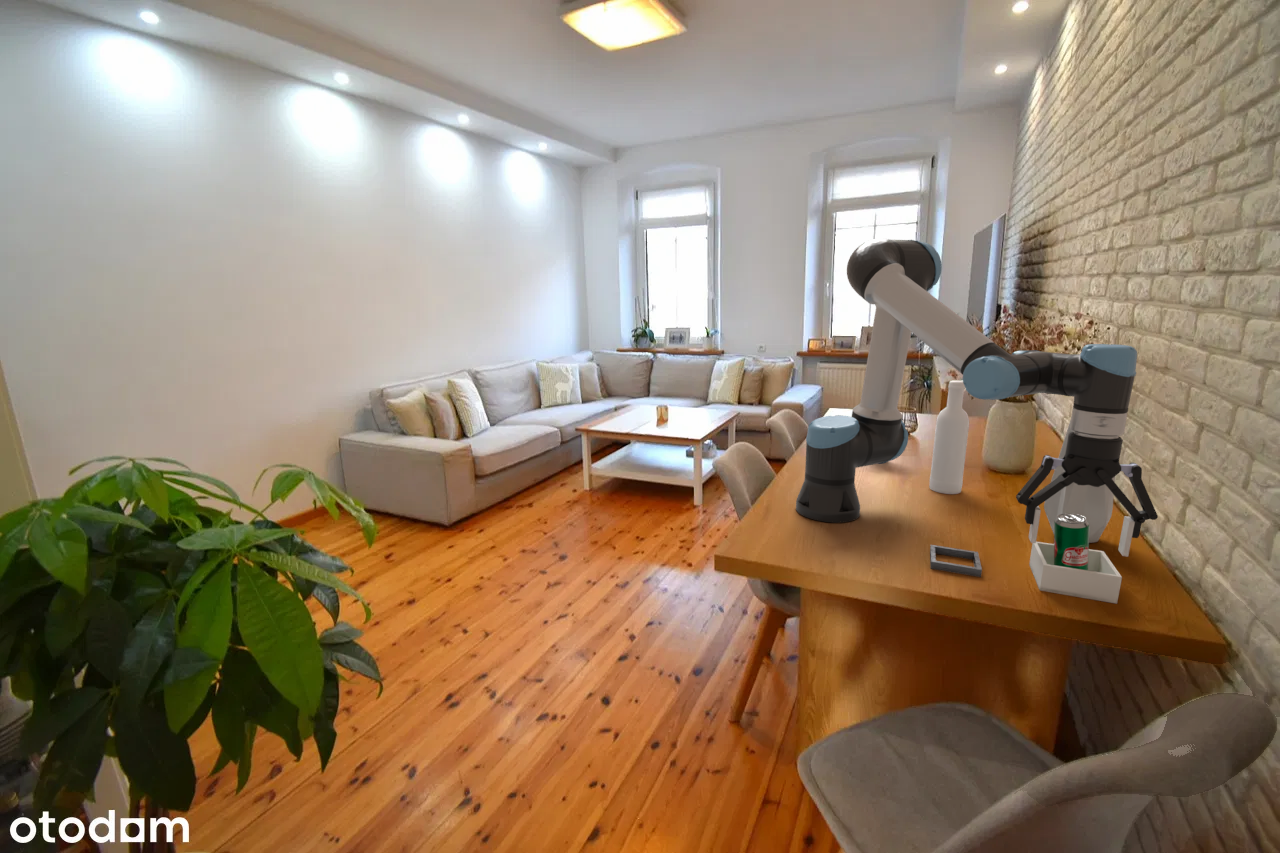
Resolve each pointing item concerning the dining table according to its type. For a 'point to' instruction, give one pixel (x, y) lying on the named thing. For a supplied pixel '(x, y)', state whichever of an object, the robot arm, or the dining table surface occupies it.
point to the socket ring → (955, 567)
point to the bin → (1075, 575)
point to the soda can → (1071, 541)
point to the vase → (1081, 501)
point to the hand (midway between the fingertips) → (1076, 546)
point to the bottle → (950, 443)
